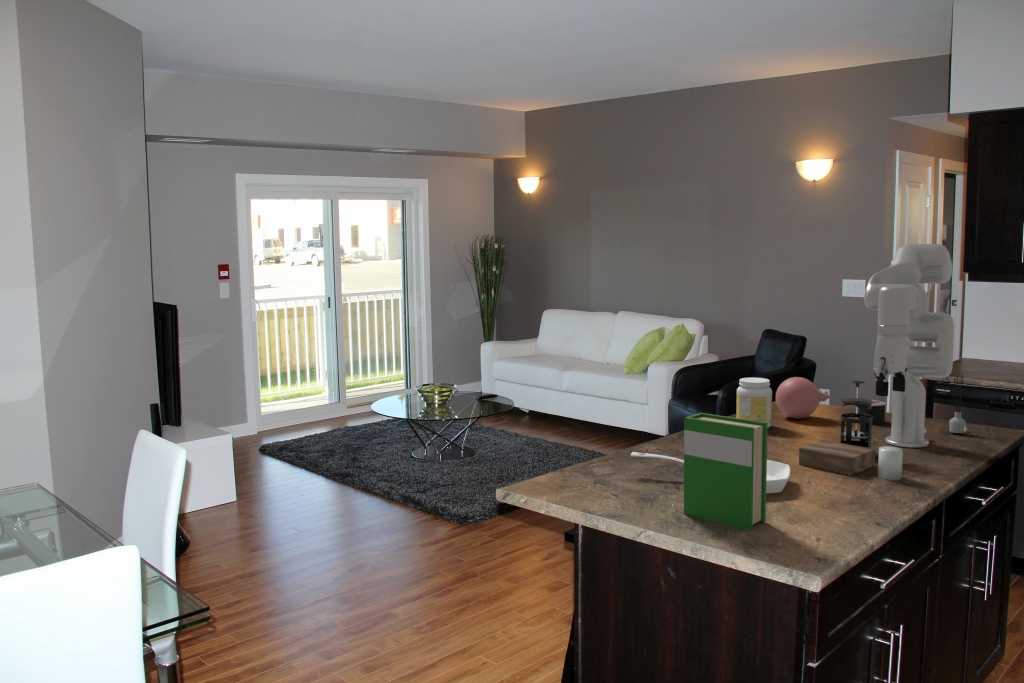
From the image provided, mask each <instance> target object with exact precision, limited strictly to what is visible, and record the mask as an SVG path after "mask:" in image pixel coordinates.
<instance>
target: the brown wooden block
mask: <svg viewBox="0 0 1024 683" xmlns="http://www.w3.org/2000/svg"><path fill="white" fill-rule="evenodd" d="M799 464H801V465H800V466H803V465H806V466H805V467H808V466H811V467H810V468H813V467H815V468H814V469H818V468H820V469H819V470H823V469H825V470H824V471H827V470H830V471H829V472H832V471H836V472H835V473H837V472H841V473H840V474H842V473H845V474H844V475H846V474H850V475H849V476H853V475H852V474H854V475H856V474H859V473H861V472H863V471H862V470H864V471H865V469H866V470H868V469H871V468H873V467H875V464H876V449H875V448H872V447H871V448H866V447H860V446H855V445H849V444H844V443H840V442H837V441H832V440H825V439H822V440H819V441H816V442H813V443H809V444H807V445H803V446H801V447H799V448H798V465H799ZM872 466H873V467H872ZM870 467H871V468H870ZM867 468H868V469H867ZM860 471H861V472H860ZM858 472H859V473H858ZM855 473H856V474H855Z"/></svg>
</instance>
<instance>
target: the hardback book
mask: <svg viewBox="0 0 1024 683" xmlns="http://www.w3.org/2000/svg"><path fill="white" fill-rule="evenodd" d="M683 421H684V422H683V424H684V426H683V429H684V430H683V432H684V433H683V436H684V438H683V439H684V440H683V447H684V448H683V460H684V463H683V514H684V515H685V514H687V516H689V515H691V517H693V516H695V518H697V517H699V518H698V519H701V518H702V520H705V519H706V521H711V522H713V523H718V524H723V525H727V526H731V527H734V528H738V529H741V530H747V531H750V532H751V531H753V528H754V527H753V526H754V524H757V523H761V524H765V523H766V522H767V520H766V519H767V515H766V514H767V494H766V477H767V460H768V428H767V424H768V423H767V422H760V421H753V420H747V419H740V418H736V417H732V416H727V415H726V416H724V415H719V414H711V413H704V412H699V413H695V414H693V415H689V416H686V417H684V419H683Z"/></svg>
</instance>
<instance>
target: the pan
mask: <svg viewBox="0 0 1024 683" xmlns="http://www.w3.org/2000/svg"><path fill="white" fill-rule="evenodd" d="M630 457H637V458H638V457H640V458H656V459H657V458H658V459H664V460H671V461H675V462H678V463H681V464H684V459H680V458H676V457H672V456H669V455H662V454H655V453H647V452H645V453H644V452H636V451H632V452H631V453H630ZM790 477H791V467H790V465H789V464H787V463H783V462H778V461H775V460H770V459H767V477H766V495H773V494H772V493H775V494H780V493H779V492H781V493H782V492H783V490H784V488H785V486H786V484H787V482H788V481H789V478H790Z"/></svg>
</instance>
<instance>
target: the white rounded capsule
mask: <svg viewBox="0 0 1024 683" xmlns="http://www.w3.org/2000/svg"><path fill="white" fill-rule="evenodd" d="M903 452H904V450H903V448H900V447H898V446H889V445H888V446H887V445H886V446H885V445H884V446H879V447H878V461H877V462H878V466H877V478H879V477H880V479H881V478H883V479H882V480H885V479H888V480H887V481H900V479H901V478H902V476H903V458H904V456H903V454H904V453H903ZM902 479H903V478H902ZM902 479H901V480H902Z"/></svg>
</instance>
